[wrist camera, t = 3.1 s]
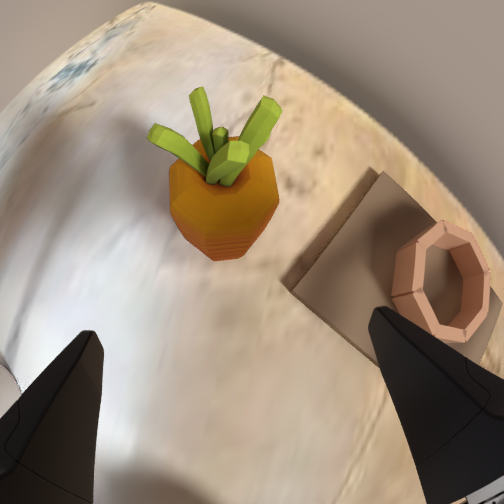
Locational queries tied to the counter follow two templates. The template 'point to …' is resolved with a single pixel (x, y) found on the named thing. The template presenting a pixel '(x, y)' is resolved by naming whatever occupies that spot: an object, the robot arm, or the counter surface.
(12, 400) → the milk bottle
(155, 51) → the counter surface
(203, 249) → the carrot
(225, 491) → the counter surface
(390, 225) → the walnut board
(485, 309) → the octagonal ring
